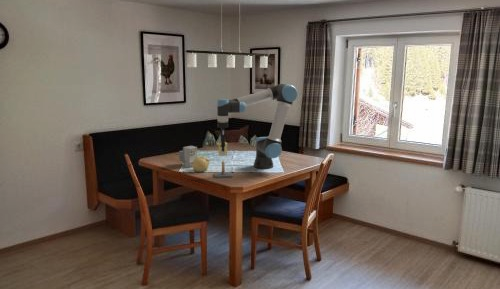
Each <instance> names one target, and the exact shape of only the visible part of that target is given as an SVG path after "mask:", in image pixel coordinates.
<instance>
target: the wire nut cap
mask: <svg viewBox="0 0 500 289" xmlns="http://www.w3.org/2000/svg"><path fill="white" fill-rule="evenodd" d="M220 146H221V141H219V142H218V156H221V147H220ZM225 156H228V142H226V141H225ZM225 156H224V157H225ZM221 157H222V156H221Z"/></svg>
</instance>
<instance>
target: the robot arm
mask: <svg viewBox="0 0 500 289" xmlns="http://www.w3.org/2000/svg"><path fill="white" fill-rule="evenodd" d="M297 98H298V90H297V88H296V87H295V86H294V85H291V84H286V83H279V84H276V85H273V86H270V87H267V88H266V89H265V90H260V91H258V92H255V93H251V94H246V95H244V96H240V97H237V98H232V99H228V98H219V99H217V105H216V106H217V108H216V109H217V110H216V111H217V116H215V117H216V119H217V124H216V125H217V128H218V129H219V136H220V142H221V146H220V147H221V157H222V156H223V157H225V142H226V133H227V130H226V129H227V128H229V114H232V113H235V114H237V113H238V114H241V113H245V111H246V107H249V106H252V105H255V104H259V103H262V102H266V101H275V100H276V103H277V106H276V108H275V111H274V117H273V118H272V119H273V120H272V122H271V123H272V124H271V128H270V131H269V135H268V136H260V137H256V138H255V159H254V162H253V167H254V168H255V169H260V170H261V169H262V170H266V169H268V170H269V169H272V168H274V161H273V159H277V158H278V157H279V156H280V155H281V154H282V152H283V149H282V140H281V137H282V134H283V130H284V126H285V123H286V120H287V117H288V116H287V115H288V112H289V109H290V107H291V106H292V105H293V103H294V101H295V100H297Z"/></svg>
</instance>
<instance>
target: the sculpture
mask: <svg viewBox="0 0 500 289" xmlns="http://www.w3.org/2000/svg"><path fill="white" fill-rule="evenodd" d="M209 166H210V159H209V158H207V157H205V156H197V157H196V158H195V160H194V161H193V164H192V167H193V168H192V169H193V170H194V172H196V173H197V172H200V173H201V172H206V171H207V170H208V168H209Z"/></svg>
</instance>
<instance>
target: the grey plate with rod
mask: <svg viewBox="0 0 500 289" xmlns="http://www.w3.org/2000/svg"><path fill="white" fill-rule="evenodd" d="M225 163H226V162H225V161H221V171H214V178H215V179H220V178H221V179H222V178H223V179H224V178H225V179H226V178H230V179H231V178H233V172H232V171H225V168H226V167H225V166H226V165H225Z"/></svg>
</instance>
